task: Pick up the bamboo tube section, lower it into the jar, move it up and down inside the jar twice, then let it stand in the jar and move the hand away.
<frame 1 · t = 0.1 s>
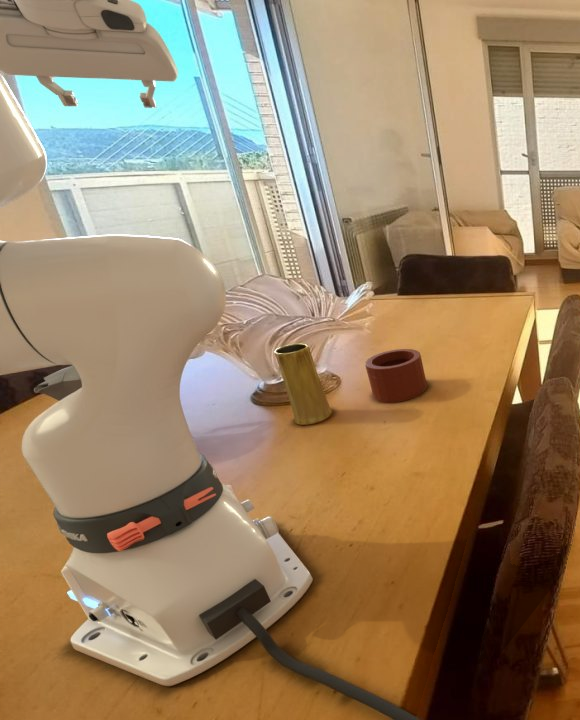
hand: (112, 105, 77), 54 cm above the table, tool tilted 30°, fingers open, 8 cm apart
jar: (401, 390, 100), on the table
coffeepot: (134, 445, 83), on the table
bamboo tube section: (314, 418, 91), on the table
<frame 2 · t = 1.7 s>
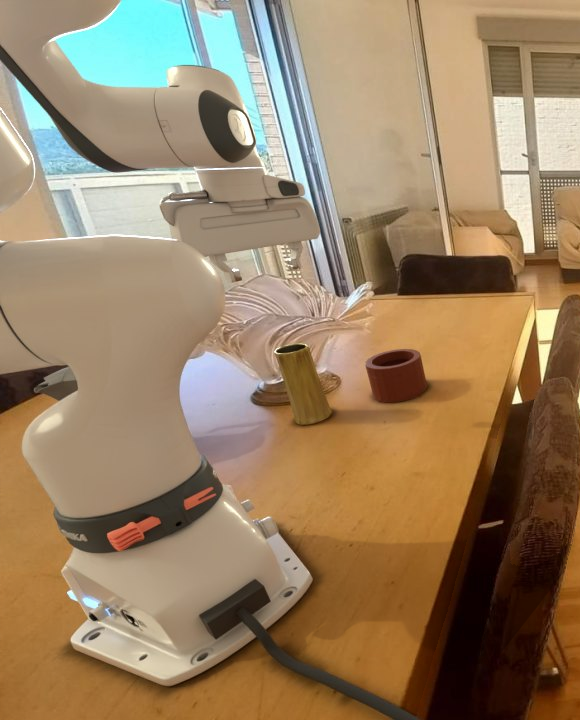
hand: (266, 274, 80), 28 cm above the table, tool pointing down, fingers open, 8 cm apart
nothing on the table moved.
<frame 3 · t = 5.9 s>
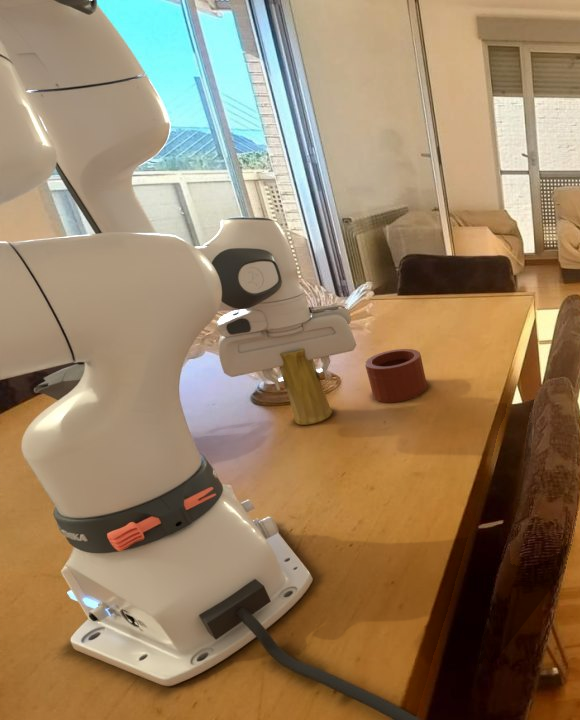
hand: (303, 383, 88), 7 cm above the table, tool pointing down, fingers closed on bamboo tube section, 5 cm apart
bamboo tube section: (314, 418, 91), on the table, touching gripper
everything else where it was.
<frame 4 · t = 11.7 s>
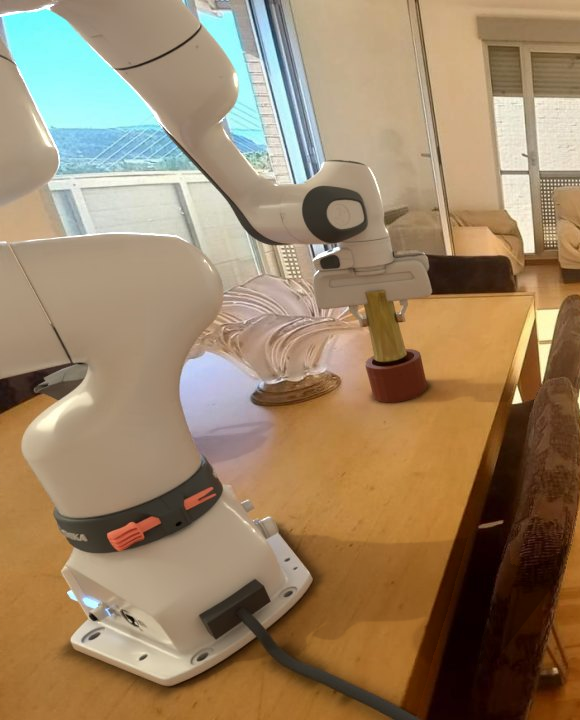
hand: (383, 323, 94), 15 cm above the table, tool pointing down, fingers closed on bamboo tube section, 5 cm apart
bamboo tube section: (391, 357, 97), point 8 cm above the table, touching gripper
everything else where it was.
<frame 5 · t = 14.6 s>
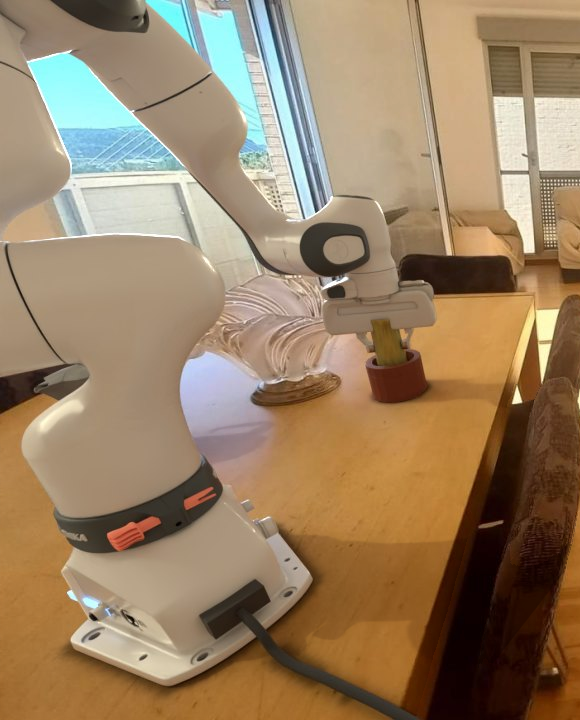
hand: (389, 350, 96), 9 cm above the table, tool pointing down, fingers closed on bamboo tube section, 5 cm apart
bamboo tube section: (397, 382, 99), point 2 cm above the table, touching gripper
everything else where it was.
when the fingers open (8 cm above the table, at t = 17.6 s): bamboo tube section stays where it is, resting on jar.
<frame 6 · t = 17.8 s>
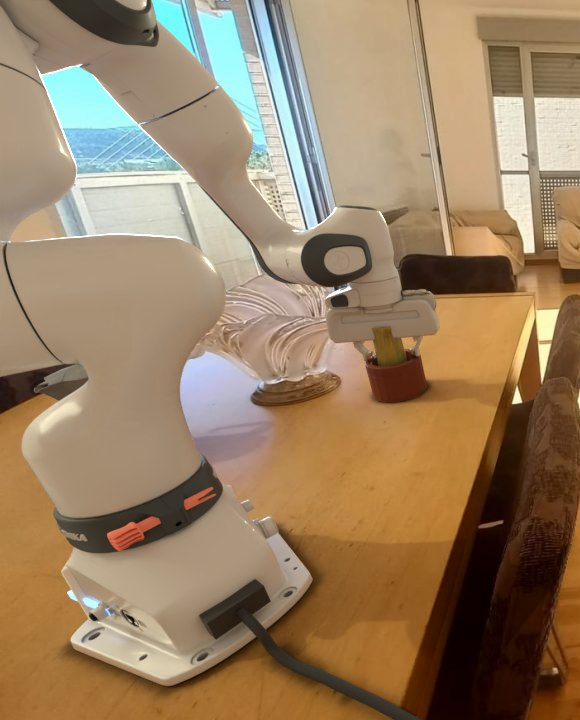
hand: (392, 358, 97), 8 cm above the table, tool pointing down, fingers open, 8 cm apart
bamboo tube section: (399, 389, 100), resting on jar
everything else where it was.
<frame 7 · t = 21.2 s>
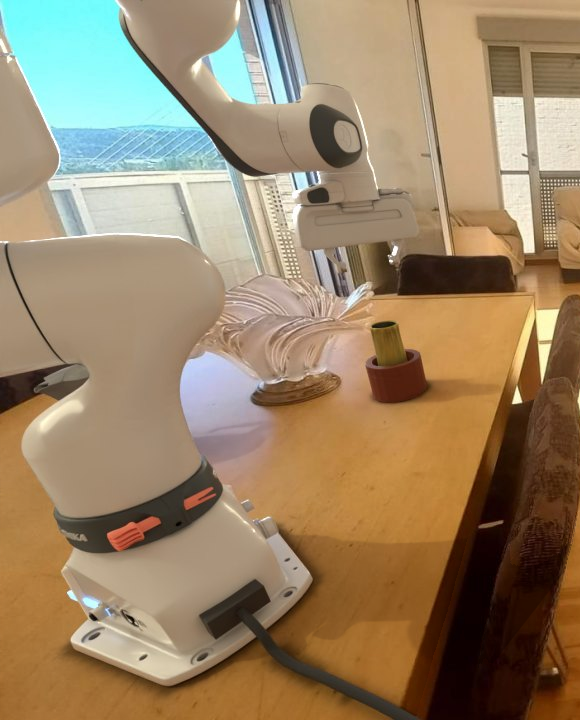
hand: (369, 268, 89), 26 cm above the table, tool pointing down, fingers open, 8 cm apart
nothing on the table moved.
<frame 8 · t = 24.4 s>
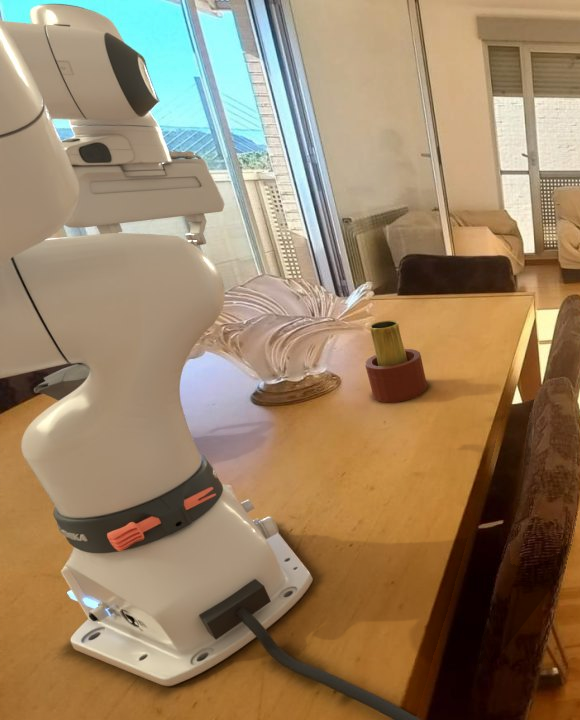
hand: (167, 250, 72), 33 cm above the table, tool pointing down, fingers open, 8 cm apart
nothing on the table moved.
at the end: bamboo tube section 0.3 cm off-centre in the jar, point 0.4 cm above the jar's base; bamboo tube section tilted 0°; the gripper is holding nothing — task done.
